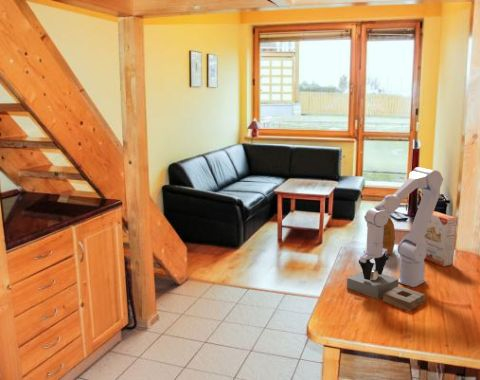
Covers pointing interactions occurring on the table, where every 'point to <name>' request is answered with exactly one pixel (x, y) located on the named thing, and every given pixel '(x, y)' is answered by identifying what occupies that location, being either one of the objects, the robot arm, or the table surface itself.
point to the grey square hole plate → (372, 285)
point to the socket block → (404, 298)
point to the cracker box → (441, 239)
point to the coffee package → (389, 236)
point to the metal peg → (374, 275)
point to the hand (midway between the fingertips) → (372, 276)
